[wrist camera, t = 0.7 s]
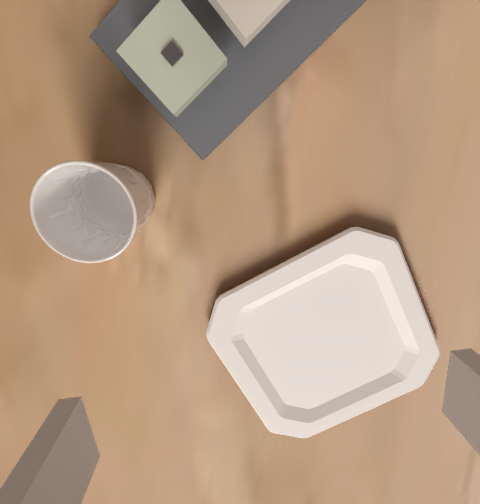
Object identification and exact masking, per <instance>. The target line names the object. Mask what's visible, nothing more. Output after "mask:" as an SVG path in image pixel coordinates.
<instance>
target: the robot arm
mask: <svg viewBox="0 0 480 504" xmlns="http://www.w3.org/2000/svg"><path fill="white" fill-rule="evenodd" d="M442 412H443V413H444V414H445V415H446V417H447V418H448V419H449V420H450V421H451V422H452V424H453V425H454V426H455V427H456V428H457V429H458V431H459V432H460V433H461V434H462V435H463V436H464V437H465V439H466V440H467V441H468V442H469V443H470V444H471V446H472V447H473V448H474V449H475V450H476V451H477V453H478V454H479V455H480V355H479V354H477V353H476V352H475V351H474V350H472V349H463V350H455V351H450V357H449V365H448V372H447V379H446V386H445V393H444V400H443V408H442ZM99 457H100V454H99V451H98V448H97V445H96V442H95V439H94V436H93V432H92V429H91V426H90V423H89V420H88V417H87V413H86V410H85V407H84V404H83V401H82V398H81V397H74V398H66V399H59V400H58V401H57V403H56V404H55V406H54V407H53V409H52V410H51V412H50V414H49V415H48V417H47V418H46V420H45V421H44V423H43V424H42V426H41V427H40V429H39V430H38V432H37V434H36V435H35V437H34V438H33V440H32V441H31V443H30V444H29V446H28V447H27V449H26V450H25V452H24V454H23V455H22V457H21V458H20V460H19V461H18V463H17V464H16V466H15V467H14V469H13V470H12V472H11V474H10V475H9V477H8V478H7V480H6V481H5V483H4V484H3V486H2V487H1V489H0V504H81V503H82V500H83V498H84V495H85V492H86V490H87V487H88V485H89V482H90V480H91V477H92V475H93V472H94V470H95V467H96V464H97V462H98V459H99Z"/></svg>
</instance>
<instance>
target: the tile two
mask: <svg viewBox="0 0 480 504" xmlns="http://www.w3.org/2000/svg"><path fill="white" fill-rule="evenodd" d="M208 1H209V2H210V4H211V5H212V6H213V8H214V9H215V10H216V11H217V13H218V14H219V15H220V17H221V18H222V19H223V20H224V22H225V23H226V24H227V26H228V27H229V28H230V30H231V31H232V32H233V33H234V35H235V36H236V37H237V39H238V40H239V41H240V42H241V44H242V45H243V46H244V48H245V46H246V45H247V44H248V43H249V42H250V41H251V40H252V39H253V38H254V37H255V36H256V35H257V34H258V33H259V32H260V31H261V30H262V29H263V28H264V27H265V26H266V25H267V24H268V23H269V22H270V21H271V20H272V19H273V18H274V17H275V16H276V15H277V14H278V12H279V11H280V10H281V9H282V8H283V7H284V6H285V5H286V4H287V3H288V2H289V1H290V0H208Z"/></svg>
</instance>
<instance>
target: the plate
mask: <svg viewBox="0 0 480 504" xmlns="http://www.w3.org/2000/svg"><path fill="white" fill-rule="evenodd" d="M206 336H207V340H208V341H209V343H210V344H211V346H212V347H213V349H214V350H215V352H216V353H217V355H218V356H219V358H220V359H221V360H222V362H223V363H224V365H225V366H226V368H227V369H228V371H229V372H230V374H231V375H232V377H233V378H234V380H235V381H236V383H237V384H238V386H239V387H240V389H241V390H242V392H243V393H244V395H245V396H246V398H247V399H248V401H249V402H250V404H251V405H252V407H253V408H254V410H255V411H256V413H257V414H258V415H259V417H260V418H261V420H262V421H263V423H264V424H265V426H266V427H267V429H268V430H269V431H271V432H272V433H277V434H282V435H288V436H293V437H298V438H309V437H311V436H313V435H315V434H317V433H320V432H322V431H324V430H326V429H328V428H331V427H333V426H335V425H337V424H339V423H342V422H344V421H346V420H348V419H350V418H353V417H355V416H357V415H359V414H361V413H364V412H366V411H368V410H370V409H372V408H375V407H377V406H379V405H381V404H383V403H386V402H388V401H390V400H392V399H394V398H397V397H399V396H401V395H403V394H405V393H408V392H410V391H412V390H414V389H416V388H419V387H420V386H421V385H423V384H424V383H425V381H426V379H427V377H428V375H429V374H430V372H431V370H432V368H433V367H434V365H435V363H436V361H437V359H438V358H439V356H440V348H439V346H438V343H437V341H436V338H435V335H434V333H433V330H432V328H431V325H430V322H429V320H428V317H427V315H426V312H425V309H424V307H423V304H422V302H421V299H420V296H419V294H418V291H417V289H416V286H415V284H414V281H413V278H412V276H411V273H410V271H409V268H408V265H407V263H406V260H405V258H404V255H403V252H402V250H401V247H400V245H399V242H398V241H397V240H396V239H395V238H394V237H391V236H388V235H385V234H381V233H378V232H374V231H371V230H368V229H364V228H361V227H350V228H348V229H346V230H344V231H342V232H340V233H338V234H336V235H335V236H333V237H331V238H329V239H327V240H325V241H323V242H321V243H319V244H317V245H315V246H313V247H312V248H310V249H308V250H306V251H304V252H302V253H300V254H298V255H296V256H294V257H292V258H290V259H288V260H287V261H285V262H283V263H281V264H279V265H277V266H275V267H273V268H271V269H269V270H267V271H265V272H263V273H261V274H260V275H258V276H256V277H254V278H252V279H250V280H248V281H246V282H244V283H242V284H240V285H238V286H236V287H234V288H233V289H231V290H229V291H227V292H225V293H223V294H221V295H220V296H219V297H218V298H217V299H216V301H215V304H214V307H213V311H212V314H211V317H210V320H209V324H208V327H207V330H206Z"/></svg>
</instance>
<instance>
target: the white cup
mask: <svg viewBox="0 0 480 504" xmlns="http://www.w3.org/2000/svg"><path fill="white" fill-rule="evenodd" d="M154 202H155V196H154V192H153V189H152V185H151V184H150V182H149V181H148V180H147V179H146V177H145V176H144V175H143V174H142V173H141V172H139V171H137V170H135V169H133V168H131V167H130V166H123V165H119V164H114V163H106V162H90V161H67V162H62V163H59V164H57V165H54V166H52V167H51V168H49V169H48V170H46V171H45V172H44V173H43V174H42V175H41V176H40V177H39V178H38V180H37V181H36V183H35V185H34V187H33V190H32V193H31V197H30V213H31V217H32V221H33V224H34V226H35V228H36V230H37V232H38V234H39V235H40V237H41V238H42V239H43V240H44V242H45V243H46V244H47V245H48V246H49V247H50V248H52V249H53V250H54V251H56V252H57V253H59V254H60V255H62V256H64V257H66V258H68V259H71V260H74V261H78V262H84V263H97V262H103V261H106V260H109V259H112V258H114V257H115V256H117V255H119V254H120V253H121V252H122V251H124V250H125V248H126V247H127V246H128V245H129V244H130V242H131V241H132V240H133V239H134V238H135V236H136V235H137V234H138V233H139V231H140V230H141V229H142V228H143V226H144V225H145V223H146V222H147V220H148V218H149V216H150V215H151V214H152V212H153V207H154Z"/></svg>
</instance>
